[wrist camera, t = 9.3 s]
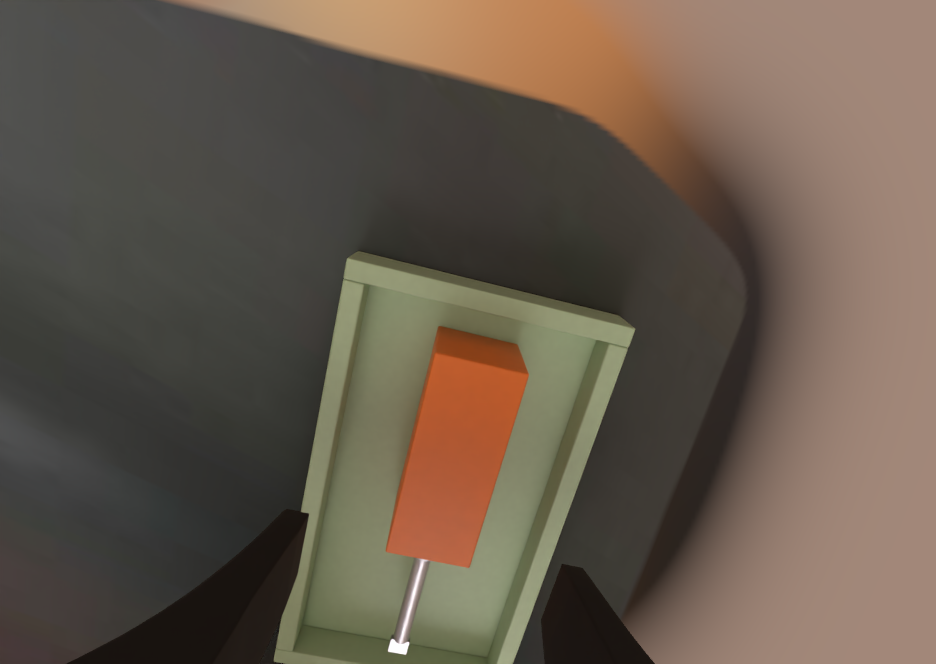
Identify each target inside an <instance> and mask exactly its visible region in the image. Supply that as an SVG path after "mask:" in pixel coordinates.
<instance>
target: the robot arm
mask: <svg viewBox="0 0 936 664" xmlns="http://www.w3.org/2000/svg"><path fill="white" fill-rule="evenodd" d="M308 518H309V513H304V512H299V511H294V510H289V509H286V510H284V511H283V512H281V514H280V515H279V516H278V517H277V518H276V519H275V520H274V521H273V522H272V523H271V524H270V525H269V526H268V527H267V528H266V529H265V530H264V531H263V532H262V533H261V534H260V535H259V536H258V537H256V538H255V539H254V540H253V541H252V542H251V543H250V544H249V545H248V546H246V547H245V548H244V549H243V550H242V551H241V552H240V553H239V554H237V555H236V556H235V557H234V558H233V559H232V560H230V561H229V562H228V563H227V564H226V565H224V566H223V567H222V568H221V569H219V570H218V571H217V572H215V573H214V574H213V575H212V576H210V577H209V578H208V579H207V580H205V581H204V582H203V583H201V584H200V585H199V586H197V587H196V588H195V589H193V590H192V591H190V592H189V593H188V594H186V595H185V596H183V597H182V598H181V599H179V600H178V601H176V602H175V603H173V604H172V605H170V606H169V607H167V608H166V609H164V610H163V611H161V612H159V613H158V614H156V615H154V616H153V617H151V618H150V619H148V620H146V621H145V622H143V623H142V624H140V625H138V626H137V627H135V628H133V629H131V630H130V631H128V632H126V633H125V634H123V635H121V636H119V637H117V638H116V639H114V640H112V641H110V642H108V643H106V644H104V645H102V646H100V647H98V648H96V649H95V650H93V651H91V652H89V653H87V654H85V655H83V656H81V657H79V658H77V659H75V660H73V661H71V662H69V663H67V664H259V662H260V660H261V658H262V656H263V654H264V652H265V650H266V648H267V646H268V644H269V642H270V640H271V638H272V636H273V633H274V631H275V629H276V627H277V625H278V623H279V621H280V619H281V617H282V615H283V613H284V610H285V607H286V605H287V602H288V599H289V597H290V594H291V591H292V588H293V586H294V583H295V580H296V577H297V575H298V570H299V565H300V560H301V554H302V549H303V544H304V539H305V534H306V529H307V523H308ZM541 624H542V638H543V649H544V659H545V664H655V663H654V662H653V661H652V660H651V659H650V657H649V656H648V655H647V654H646V653H645V651H644V650H643V649H642V648H641V646H640V645H639V644H638V643H637V641H636V640H635V639H634V637H633V636H632V635H631V634H630V632H629V631H628V630H627V628H626V627H625V626H624V624H623V623H622V622H621V620H620V619H619V618H618V616H617V615H616V613H615V612H614V611H613V609H612V608H611V607H610V605H609V604H608V602H607V601H606V600H605V598H604V597H603V595H602V594H601V593H600V591H599V590H598V588H597V587H596V586H595V584H594V583H593V581H592V580H591V579H590V577H589V576H588V575H587V573H586V572H585V571H584V569H583V568H580V567H575V566H570V565H565V564H562V566H561V568H560V571H559V574H558V576H557V579H556V582H555V584H554V587H553V590H552V592H551V595H550V598H549V600H548V603H547V606H546V608H545V611H544V614H543V616H542V619H541Z"/></svg>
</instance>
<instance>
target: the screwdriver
mask: <svg viewBox="0 0 936 664" xmlns="http://www.w3.org/2000/svg"><path fill="white" fill-rule="evenodd" d="M528 377H529V373H528V370H527V368H526V365H525V362H524V360H523V357H522V355H521V352H520V349H519V347H518V345H517V344H514V343H510V342H505V341H501V340H497V339H493V338H489V337H484V336H480V335H476V334H472V333H468V332H463V331H459V330H455V329H451V328H447V327H442V326H439V327H438V329H437V333H436V337H435V341H434V345H433V350H432V354H431V358H430V362H429V366H428V370H427V374H426V378H425V382H424V386H423V390H422V394H421V398H420V403H419V407H418V411H417V415H416V419H415V423H414V427H413V431H412V435H411V439H410V443H409V447H408V451H407V456H406V460H405V464H404V468H403V472H402V476H401V480H400V484H399V488H398V492H397V496H396V501H395V506H394V511H393V516H392V521H391V526H390V531H389V536H388V541H387V545H386V552H388V553H393V554H398V555H404V556H409V557H414V561H413V565H412V569H411V573H410V576H409V580H408V584H407V587H406V591H405V595H404V599H403V602H402V606H401V610H400V614H399V617H398V621H397V625H396V628H395V632H394V635H391V638H390V642H389V646H388V652H393V653H399V654H404V655H406V654H407V651H408V647H409V644H410V638H409V635H410V632H411V628H412V625H413V621H414V617H415V614H416V610H417V607H418V603H419V600H420V596H421V592H422V589H423V585H424V582H425V578H426V575H427V571H428V567H429V564H430V562H434V561H435V562H440V563H445V564H450V565H455V566H460V567H466V568H469V567H470V565H471V561H472V558H473V555H474V552H475V548H476V545H477V542H478V539H479V536H480V532H481V529H482V526H483V523H484V519H485V516H486V513H487V510H488V506H489V503H490V500H491V497H492V494H493V490H494V487H495V484H496V481H497V477H498V474H499V471H500V468H501V465H502V461H503V458H504V455H505V452H506V448H507V445H508V442H509V439H510V435H511V432H512V429H513V426H514V423H515V419H516V416H517V413H518V410H519V406H520V403H521V400H522V397H523V393H524V390H525V387H526V384H527V381H528Z"/></svg>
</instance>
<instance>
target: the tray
mask: <svg viewBox="0 0 936 664" xmlns="http://www.w3.org/2000/svg"><path fill="white" fill-rule="evenodd" d="M439 326H442V327H447V328H451V329H455V330H459V331H463V332H468V333H472V334H476V335H480V336H484V337H489V338H493V339H497V340H501V341H505V342H510V343H514V344H517V345H518V347H519V349H520V352H521V355H522V357H523V360H524V362H525V365H526V368H527V370H528V373H529V377H528V381H527V384H526V387H525V390H524V393H523V397H522V400H521V403H520V406H519V410H518V413H517V416H516V419H515V423H514V426H513V429H512V432H511V435H510V439H509V442H508V445H507V448H506V452H505V455H504V458H503V461H502V465H501V468H500V471H499V474H498V477H497V481H496V484H495V487H494V490H493V494H492V497H491V500H490V503H489V506H488V510H487V513H486V516H485V519H484V523H483V526H482V529H481V532H480V536H479V539H478V542H477V545H476V548H475V552H474V555H473V558H472V561H471V565H470V567H469V568H466V567H460V566H455V565H450V564H445V563H440V562H435V561H434V562H430V564H429V567H428V571H427V575H426V578H425V582H424V585H423V589H422V592H421V596H420V600H419V603H418V607H417V610H416V614H415V617H414V621H413V625H412V628H411V632H410V635H409V638H410V644H409V647H408V651H407V654H406V655H404V654H399V653H393V652H388V646H389V642H390V638H391V635H394V632H395V628H396V625H397V621H398V617H399V614H400V610H401V606H402V602H403V599H404V595H405V591H406V587H407V584H408V580H409V576H410V573H411V569H412V565H413V561H414V557H409V556H404V555H398V554H393V553H388V552H386V545H387V541H388V536H389V531H390V526H391V521H392V516H393V511H394V506H395V501H396V496H397V492H398V488H399V484H400V480H401V476H402V472H403V468H404V464H405V460H406V456H407V451H408V447H409V443H410V439H411V435H412V431H413V427H414V423H415V419H416V415H417V411H418V407H419V403H420V398H421V394H422V390H423V386H424V382H425V378H426V374H427V370H428V366H429V362H430V358H431V354H432V350H433V345H434V341H435V337H436V333H437V329H438V327H439ZM634 331H635V328H634V327H632V326H631V325H630V324H629V323H627V322H626V321H625V320H624V319H622V318H621V317H620V316H619V315H615V314H611V313H607V312H603V311H599V310H595V309H591V308H587V307H582V306H578V305H574V304H570V303H566V302H562V301H558V300H554V299H550V298H546V297H542V296H538V295H534V294H530V293H526V292H522V291H518V290H514V289H510V288H506V287H502V286H498V285H494V284H490V283H486V282H482V281H478V280H474V279H469V278H465V277H461V276H457V275H453V274H449V273H445V272H441V271H437V270H433V269H429V268H425V267H421V266H417V265H413V264H409V263H405V262H401V261H397V260H393V259H389V258H385V257H381V256H377V255H373V254H369V253H365V252H360V251H358V252H356V253H355V254H353V255H351V256H350V257H348V258H347V261H346V267H345V272H344V280H343V284H342V289H341V295H340V300H339V306H338V311H337V317H336V322H335V328H334V333H333V339H332V344H331V350H330V355H329V360H328V366H327V371H326V377H325V382H324V388H323V393H322V399H321V404H320V410H319V415H318V421H317V426H316V432H315V437H314V443H313V448H312V454H311V459H310V465H309V470H308V475H307V481H306V486H305V492H304V497H303V503H302V508H301V512H304V513H309V518H308V523H307V529H306V534H305V539H304V544H303V549H302V554H301V560H300V565H299V570H298V575H297V577H296V580H295V583H294V586H293V588H292V591H291V594H290V597H289V599H288V602H287V605H286V607H285V610H284V613H283V615H282V618H281V623H280V629H279V634H278V640H277V645H276V650H275V656H274V662H279V663H285V664H513V662H514V659H515V656H516V654H517V651H518V648H519V645H520V643H521V640H522V637H523V635H524V632H525V629H526V626H527V624H528V621H529V618H530V615H531V613H532V610H533V607H534V604H535V602H536V599H537V596H538V593H539V591H540V588H541V585H542V583H543V580H544V577H545V574H546V572H547V569H548V566H549V563H550V561H551V558H552V555H553V552H554V550H555V547H556V544H557V541H558V539H559V536H560V533H561V530H562V528H563V525H564V522H565V520H566V517H567V514H568V511H569V509H570V506H571V503H572V500H573V498H574V495H575V492H576V489H577V487H578V484H579V481H580V478H581V476H582V473H583V470H584V468H585V465H586V462H587V459H588V457H589V454H590V451H591V448H592V446H593V443H594V440H595V437H596V435H597V432H598V429H599V426H600V424H601V421H602V418H603V415H604V413H605V410H606V407H607V405H608V402H609V399H610V396H611V394H612V391H613V388H614V385H615V383H616V380H617V377H618V374H619V372H620V369H621V366H622V363H623V361H624V358H625V355H626V353H627V350H628V348H627V347H629V345H630V342H631V340H632V337H633V334H634Z"/></svg>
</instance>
